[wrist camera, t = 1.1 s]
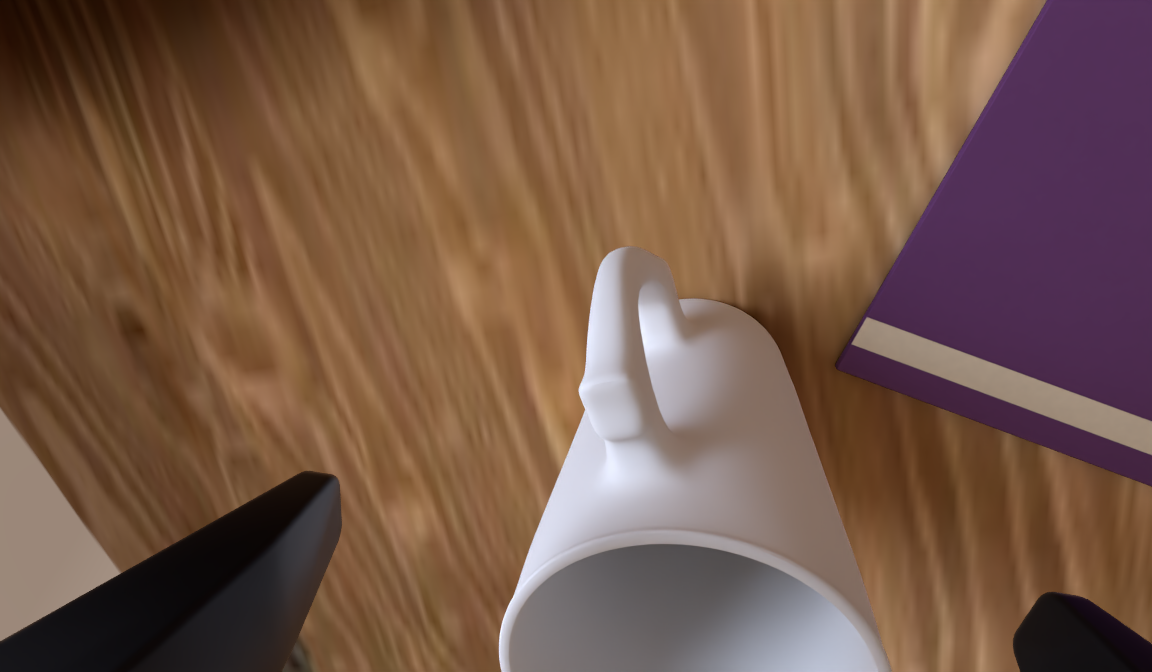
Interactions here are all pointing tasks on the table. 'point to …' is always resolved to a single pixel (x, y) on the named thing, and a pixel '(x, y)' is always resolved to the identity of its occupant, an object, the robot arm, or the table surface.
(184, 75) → the table surface
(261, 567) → the robot arm
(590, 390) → the mug
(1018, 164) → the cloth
